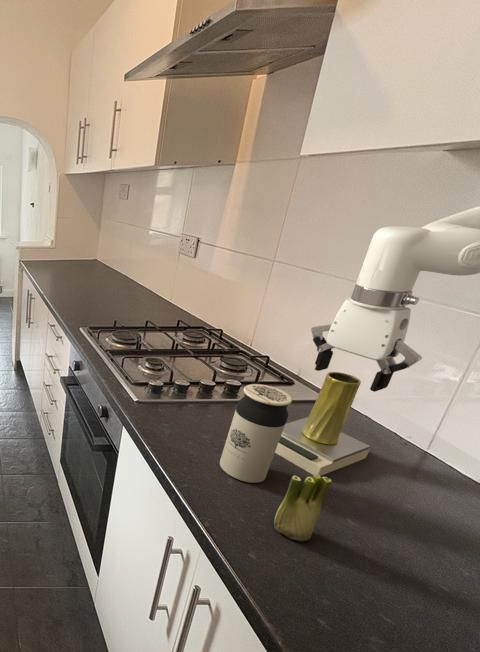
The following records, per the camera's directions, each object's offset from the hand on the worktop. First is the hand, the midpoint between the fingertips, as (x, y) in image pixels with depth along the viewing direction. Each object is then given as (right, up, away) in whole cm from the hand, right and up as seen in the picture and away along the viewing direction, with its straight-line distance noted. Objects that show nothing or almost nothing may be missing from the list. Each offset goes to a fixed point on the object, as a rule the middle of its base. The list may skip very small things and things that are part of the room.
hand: (347, 379), depth 83 cm
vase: (-1, -13, +6) cm, 14 cm away
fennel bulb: (-22, -25, -13) cm, 36 cm away
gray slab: (0, -13, +6) cm, 15 cm away
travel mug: (-21, -19, +1) cm, 28 cm away
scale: (-2, -16, +7) cm, 17 cm away
